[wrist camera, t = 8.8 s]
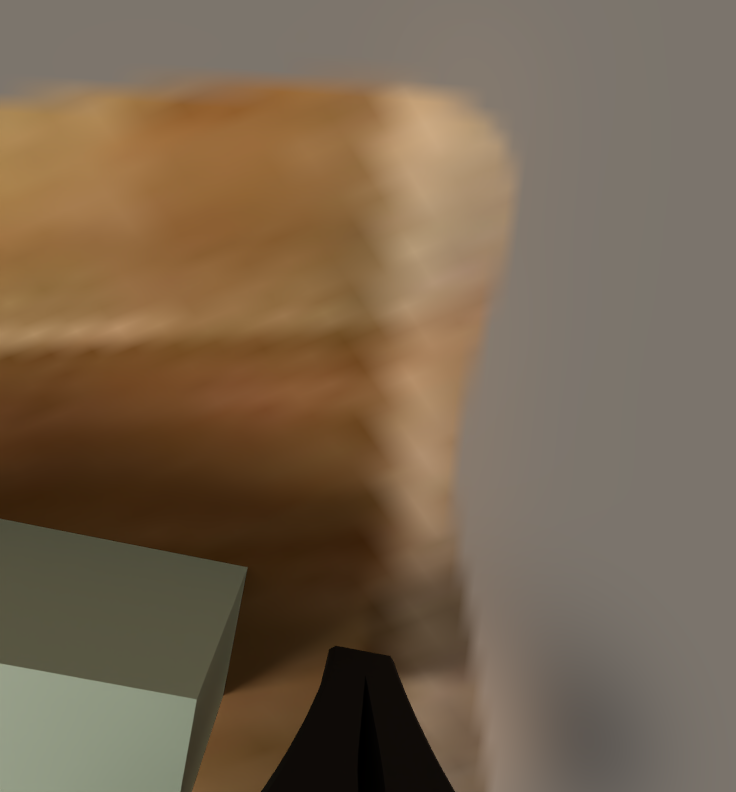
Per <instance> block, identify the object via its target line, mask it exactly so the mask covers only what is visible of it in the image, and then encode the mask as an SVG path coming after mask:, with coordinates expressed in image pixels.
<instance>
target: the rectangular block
mask: <svg viewBox="0 0 736 792" xmlns="http://www.w3.org/2000/svg"><path fill="white" fill-rule="evenodd" d="M247 568H248V567H244V566H239V565H233V564H228V563H223V562H218V561H213V560H208V559H203V558H198V557H193V556H188V555H182V554H177V553H172V552H167V551H162V550H157V549H152V548H147V547H142V546H137V545H132V544H126V543H121V542H116V541H111V540H106V539H101V538H96V537H91V536H86V535H81V534H76V533H70V532H65V531H60V530H55V529H50V528H45V527H40V526H35V525H30V524H25V523H20V522H14V521H9V520H4V519H0V792H192V789H193V786H194V783H195V780H196V777H197V774H198V771H199V768H200V765H201V762H202V758H203V755H204V752H205V749H206V746H207V743H208V740H209V737H210V734H211V731H212V728H213V725H214V722H215V719H216V716H217V713H218V710H219V707H220V704H221V701H222V698H223V694H224V689H225V683H226V678H227V673H228V668H229V662H230V657H231V652H232V647H233V641H234V636H235V631H236V626H237V621H238V615H239V610H240V605H241V600H242V594H243V589H244V584H245V579H246V573H247Z"/></svg>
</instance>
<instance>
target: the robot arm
mask: <svg viewBox="0 0 736 792" xmlns="http://www.w3.org/2000/svg"><path fill="white" fill-rule="evenodd" d="M261 792H455V791H454V789H453V788H452V786H451V784H450V782H449V781H448V779H447V777H446V775H445V773H444V772H443V770H442V768H441V766H440V764H439V763H438V761H437V759H436V757H435V755H434V753H433V751H432V749H431V747H430V745H429V743H428V741H427V739H426V737H425V735H424V733H423V731H422V729H421V727H420V724H419V722H418V720H417V718H416V716H415V714H414V711H413V709H412V707H411V705H410V702H409V700H408V698H407V695H406V693H405V690H404V688H403V685H402V683H401V680H400V678H399V675H398V672H397V670H396V667H395V664H394V662H393V660H392V658H391V657H390V656H386V655H381V654H376V653H371V652H365V651H360V650H355V649H349V648H344V647H339V646H334V647H333V648H331V649H329V652H328V657H327V661H326V665H325V669H324V673H323V677H322V682H321V685H320V687H319V690H318V692H317V695H316V697H315V699H314V701H313V703H312V705H311V708H310V710H309V712H308V714H307V716H306V718H305V720H304V722H303V724H302V726H301V728H300V729H299V731H298V733H297V735H296V737H295V738H294V740H293V742H292V744H291V746H290V747H289V749H288V751H287V753H286V754H285V756H284V757H283V759H282V761H281V762H280V764H279V765H278V767H277V769H276V770H275V772H274V773H273V775H272V776H271V778H270V779H269V781H268V782H267V784H266V785H265V787H264V788H263V790H262V791H261Z"/></svg>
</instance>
